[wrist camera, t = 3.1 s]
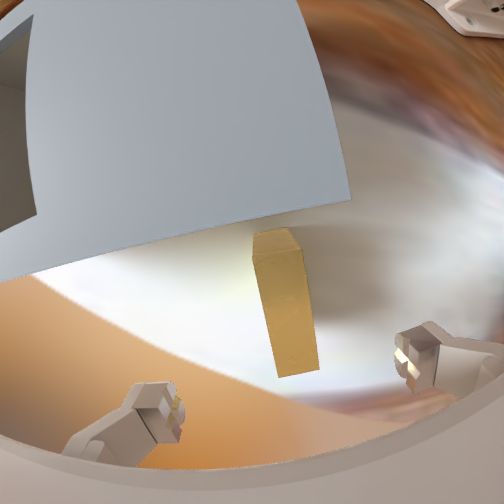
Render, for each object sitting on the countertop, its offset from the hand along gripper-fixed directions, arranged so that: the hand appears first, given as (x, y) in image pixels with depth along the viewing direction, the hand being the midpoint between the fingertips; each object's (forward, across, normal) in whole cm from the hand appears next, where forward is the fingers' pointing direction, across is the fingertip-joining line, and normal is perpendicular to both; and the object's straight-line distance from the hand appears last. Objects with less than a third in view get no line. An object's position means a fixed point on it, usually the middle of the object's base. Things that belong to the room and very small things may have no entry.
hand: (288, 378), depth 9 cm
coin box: (+9, +5, -12) cm, 16 cm away
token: (+9, -1, -1) cm, 9 cm away
